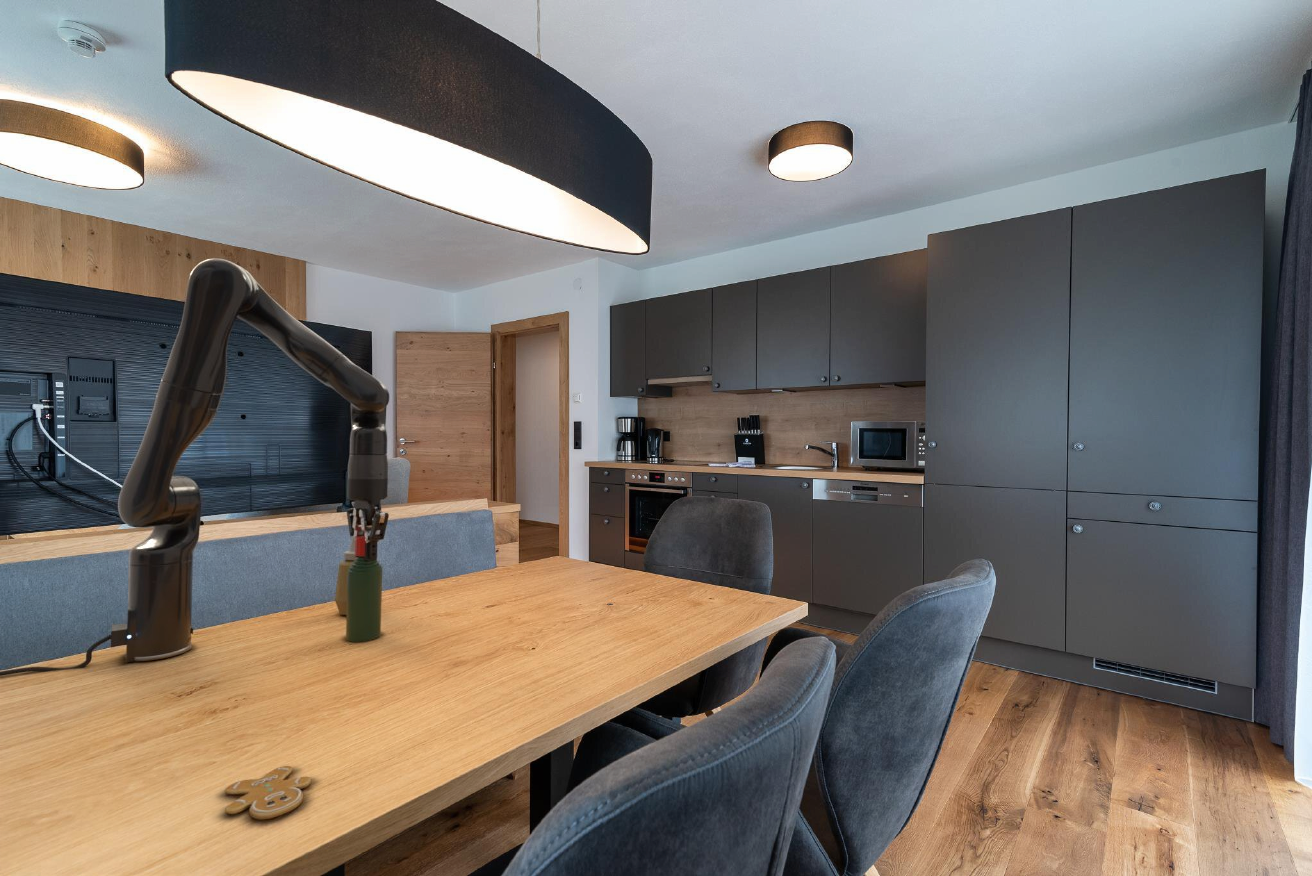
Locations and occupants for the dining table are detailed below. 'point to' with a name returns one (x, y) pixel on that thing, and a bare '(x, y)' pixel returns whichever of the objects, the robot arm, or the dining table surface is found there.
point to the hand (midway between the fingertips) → (365, 558)
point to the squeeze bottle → (344, 579)
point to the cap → (360, 546)
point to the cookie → (268, 794)
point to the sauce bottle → (364, 600)
